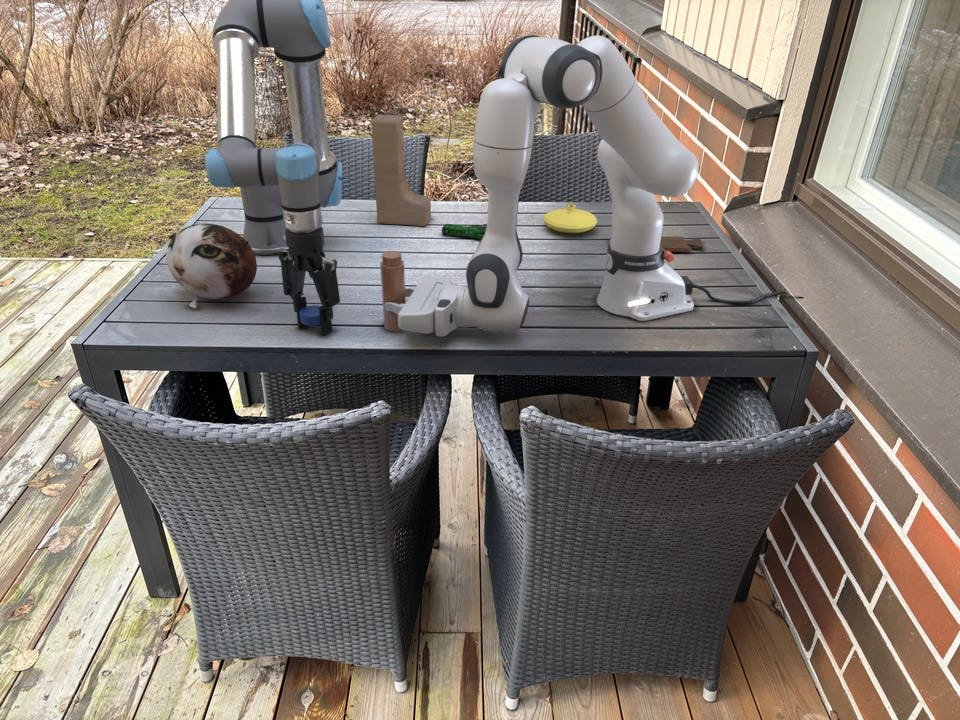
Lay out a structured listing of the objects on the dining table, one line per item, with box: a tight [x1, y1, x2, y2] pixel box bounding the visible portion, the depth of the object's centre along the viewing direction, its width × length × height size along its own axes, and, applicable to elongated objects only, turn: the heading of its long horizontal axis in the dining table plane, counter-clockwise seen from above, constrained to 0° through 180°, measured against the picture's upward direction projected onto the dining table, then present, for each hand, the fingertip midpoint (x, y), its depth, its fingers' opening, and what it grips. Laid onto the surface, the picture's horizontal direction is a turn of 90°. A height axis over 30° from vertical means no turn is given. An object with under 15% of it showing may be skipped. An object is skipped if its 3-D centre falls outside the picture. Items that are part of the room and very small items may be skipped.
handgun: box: [441, 223, 487, 241], centre depth 207 cm, size 16×3×15 cm
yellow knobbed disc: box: [543, 203, 598, 234], centre depth 209 cm, size 16×16×7 cm
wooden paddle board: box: [609, 235, 704, 253], centre depth 200 cm, size 26×2×10 cm
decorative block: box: [370, 114, 432, 227], centre depth 207 cm, size 8×15×30 cm, turn 82°
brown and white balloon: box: [165, 222, 258, 309], centre depth 165 cm, size 22×18×20 cm
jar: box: [379, 250, 407, 332], centre depth 153 cm, size 5×5×17 cm
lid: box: [299, 304, 321, 327], centre depth 154 cm, size 6×6×2 cm
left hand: (315, 329), depth 155 cm, fingers closed on lid, 6 cm apart
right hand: (390, 299), depth 154 cm, fingers closed on jar, 5 cm apart
